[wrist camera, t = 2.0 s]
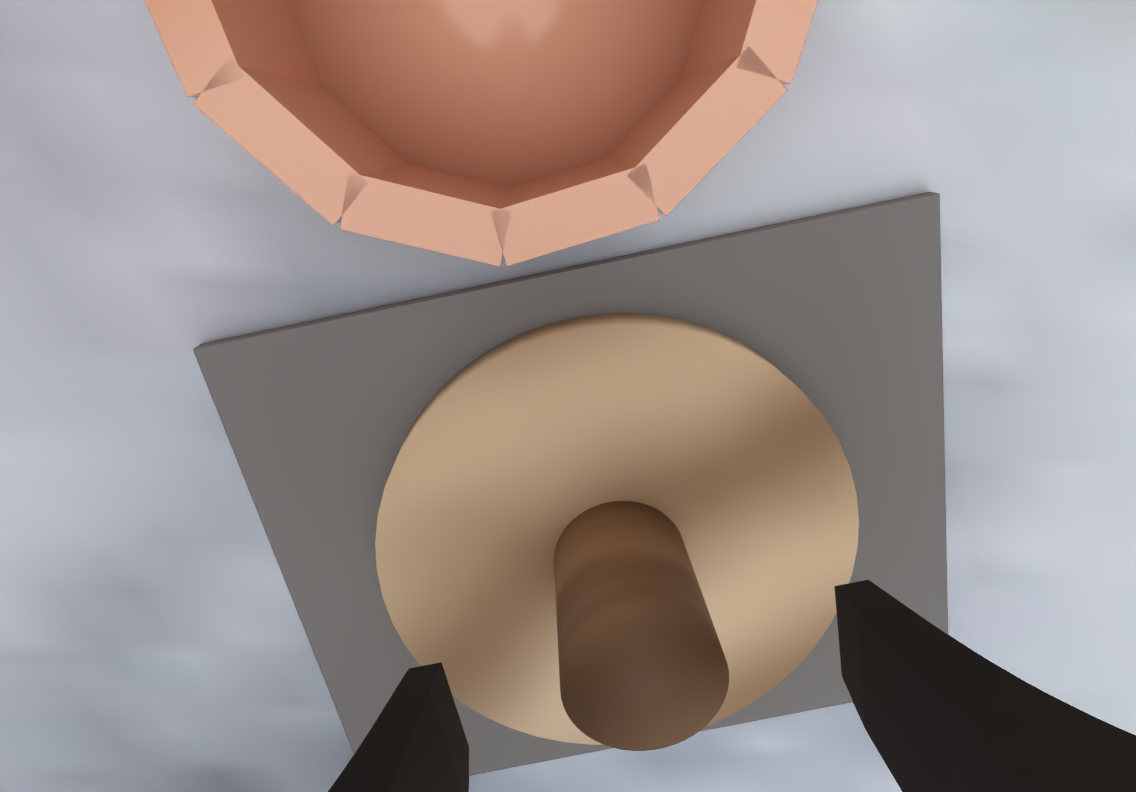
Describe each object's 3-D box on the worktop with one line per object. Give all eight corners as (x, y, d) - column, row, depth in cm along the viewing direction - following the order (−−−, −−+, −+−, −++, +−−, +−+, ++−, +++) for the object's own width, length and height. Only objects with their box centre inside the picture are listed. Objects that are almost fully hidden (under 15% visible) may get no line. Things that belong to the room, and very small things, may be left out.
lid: (932, 521, 18) (1074, 662, 13) (616, 779, 20) (640, 976, 16) (613, 203, 15) (651, 239, 10) (288, 551, 17) (197, 709, 13)
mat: (941, 673, 20) (949, 683, 20) (373, 782, 20) (370, 794, 20) (929, 192, 15) (939, 193, 15) (201, 344, 16) (193, 349, 15)
